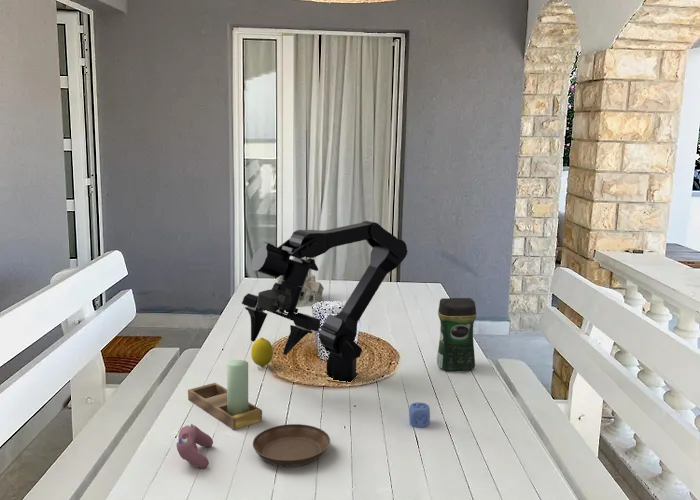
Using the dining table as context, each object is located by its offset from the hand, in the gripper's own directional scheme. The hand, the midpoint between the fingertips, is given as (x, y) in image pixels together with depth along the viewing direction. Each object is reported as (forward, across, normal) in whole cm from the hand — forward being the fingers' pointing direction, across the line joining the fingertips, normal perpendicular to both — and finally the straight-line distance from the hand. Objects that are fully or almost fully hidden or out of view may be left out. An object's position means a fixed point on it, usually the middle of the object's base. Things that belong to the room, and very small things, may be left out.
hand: (268, 347), depth 157 cm
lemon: (+8, -11, +18) cm, 23 cm away
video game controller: (+21, +8, -25) cm, 34 cm away
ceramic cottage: (-8, -40, +74) cm, 85 cm away
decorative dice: (+3, +37, +6) cm, 38 cm away
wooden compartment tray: (+15, -2, -6) cm, 17 cm away
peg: (+15, +4, -8) cm, 18 cm away
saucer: (+15, +22, -15) cm, 31 cm away
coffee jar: (-9, +31, +40) cm, 51 cm away
